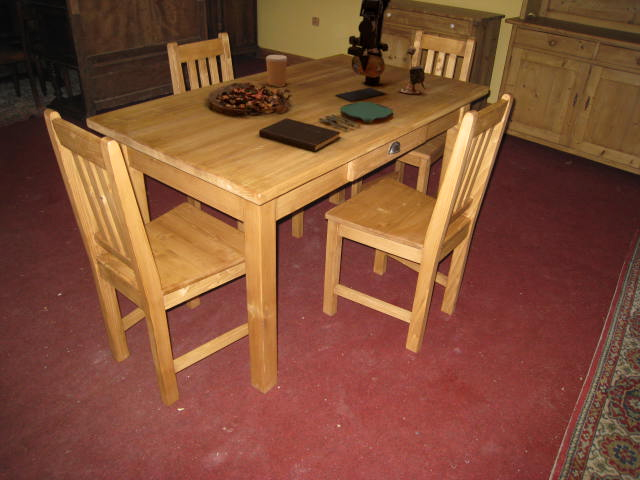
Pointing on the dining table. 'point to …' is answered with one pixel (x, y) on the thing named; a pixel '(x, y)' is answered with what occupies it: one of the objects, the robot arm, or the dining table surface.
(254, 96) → the food dish
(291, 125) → the hardcover book
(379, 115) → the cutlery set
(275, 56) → the glass of beer
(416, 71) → the plant with pod
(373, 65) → the tin
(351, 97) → the placemat
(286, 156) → the dining table surface
